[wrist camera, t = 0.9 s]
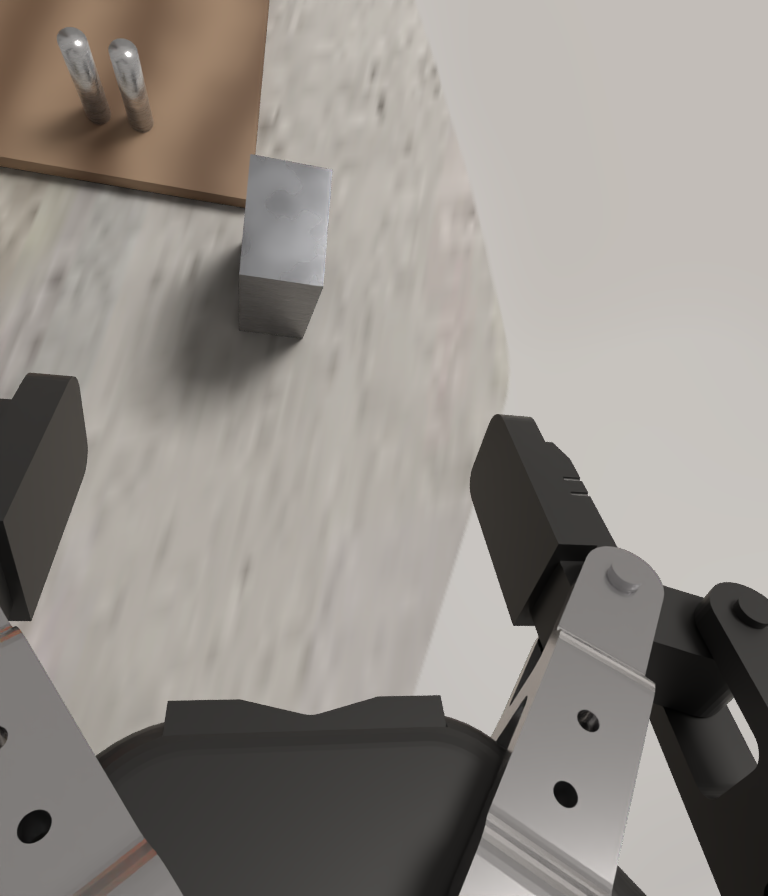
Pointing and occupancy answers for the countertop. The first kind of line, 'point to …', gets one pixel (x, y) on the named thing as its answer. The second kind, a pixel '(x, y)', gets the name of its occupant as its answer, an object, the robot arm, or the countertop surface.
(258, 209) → the plate
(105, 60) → the pin tray
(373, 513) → the countertop surface
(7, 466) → the robot arm
